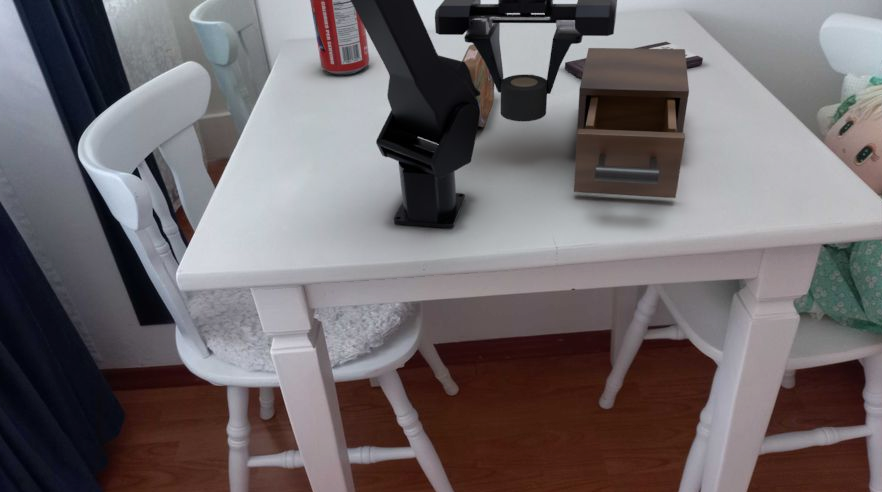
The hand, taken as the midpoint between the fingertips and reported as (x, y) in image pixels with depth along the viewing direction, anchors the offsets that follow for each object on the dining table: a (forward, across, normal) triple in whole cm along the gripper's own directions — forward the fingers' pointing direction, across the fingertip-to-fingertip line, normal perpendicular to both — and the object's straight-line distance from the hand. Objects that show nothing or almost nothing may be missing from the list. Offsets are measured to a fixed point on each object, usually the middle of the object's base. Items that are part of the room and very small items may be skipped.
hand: (524, 91), depth 79 cm
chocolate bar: (+8, -12, -31) cm, 34 cm away
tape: (+2, 0, +1) cm, 2 cm away
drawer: (+7, -12, +6) cm, 15 cm away
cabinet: (+8, -12, -7) cm, 16 cm away
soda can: (+8, +33, -28) cm, 44 cm away
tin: (+8, +8, -12) cm, 17 cm away
